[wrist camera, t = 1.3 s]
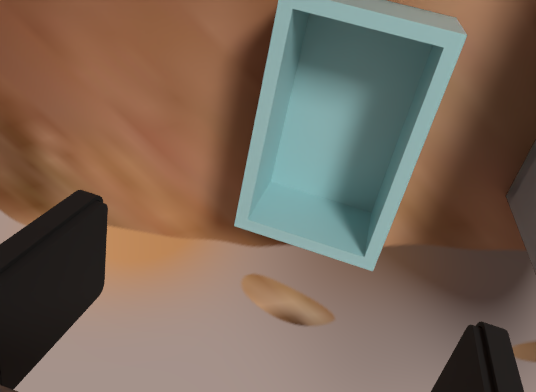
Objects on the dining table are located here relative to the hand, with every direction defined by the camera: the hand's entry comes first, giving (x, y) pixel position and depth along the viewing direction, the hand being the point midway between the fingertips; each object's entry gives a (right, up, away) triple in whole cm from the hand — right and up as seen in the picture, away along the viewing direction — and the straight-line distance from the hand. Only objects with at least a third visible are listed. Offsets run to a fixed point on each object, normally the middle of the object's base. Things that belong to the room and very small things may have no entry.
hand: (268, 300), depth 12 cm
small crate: (+4, +7, +13) cm, 15 cm away
